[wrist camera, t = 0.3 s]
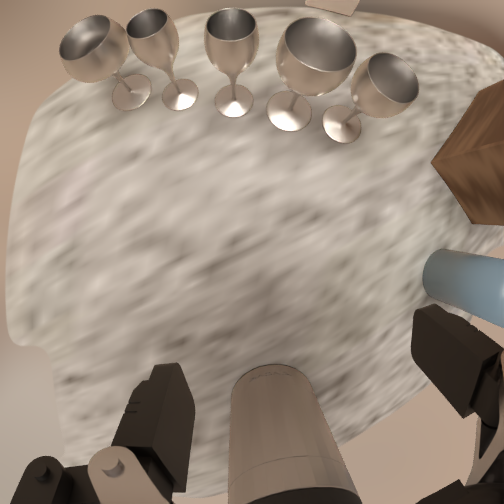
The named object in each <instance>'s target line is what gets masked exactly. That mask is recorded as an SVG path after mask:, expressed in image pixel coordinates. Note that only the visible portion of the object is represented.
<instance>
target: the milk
mask: <svg viewBox="0 0 504 504" xmlns="http://www.w3.org/2000/svg"><path fill="white" fill-rule="evenodd" d="M359 1H360V0H305V5H306V6H311V7H316V8H320V9H324V10H328V11H332V12H336V13H340V14H343V15H347V16H351V15H352V13H353V12H354V10H355V8H356V6H357V4H358V3H359Z"/></svg>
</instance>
